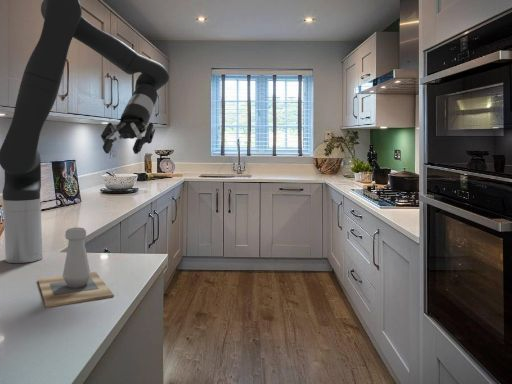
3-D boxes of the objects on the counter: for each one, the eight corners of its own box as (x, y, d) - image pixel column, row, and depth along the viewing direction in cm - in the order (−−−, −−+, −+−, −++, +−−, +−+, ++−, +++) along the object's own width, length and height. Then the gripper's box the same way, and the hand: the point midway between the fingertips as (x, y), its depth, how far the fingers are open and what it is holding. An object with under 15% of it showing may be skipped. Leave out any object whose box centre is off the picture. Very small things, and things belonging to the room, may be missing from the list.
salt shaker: (81, 290, 95) (79, 231, 94) (57, 288, 96) (55, 230, 95) (95, 282, 101) (94, 226, 99) (73, 280, 102) (71, 225, 101)
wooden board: (38, 281, 103) (38, 278, 103) (95, 273, 110) (95, 271, 110) (46, 307, 86) (46, 304, 86) (113, 296, 93) (113, 293, 93)
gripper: (110, 102, 127) (90, 141, 117) (157, 102, 125) (140, 141, 115) (119, 122, 133) (101, 160, 123) (164, 122, 130) (149, 161, 120)
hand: (120, 151), depth 119 cm, fingers open, 8 cm apart
